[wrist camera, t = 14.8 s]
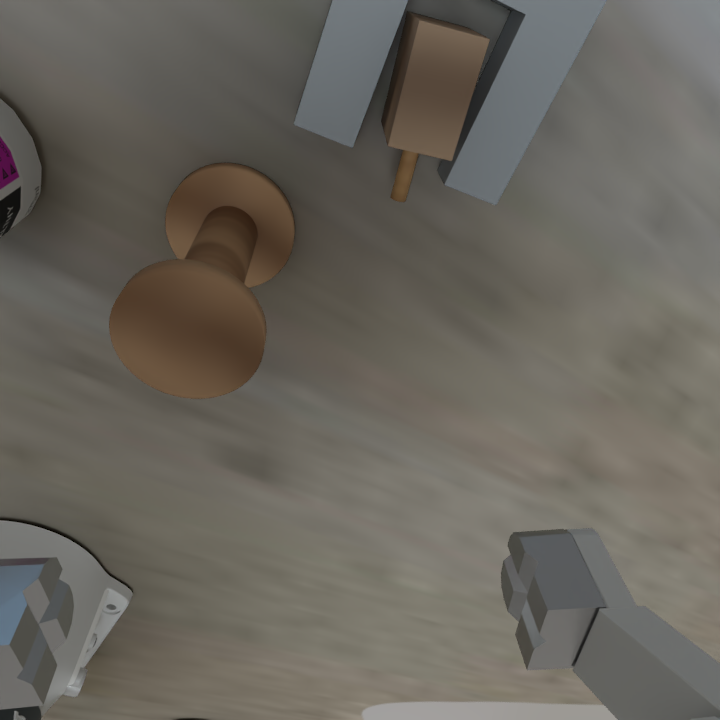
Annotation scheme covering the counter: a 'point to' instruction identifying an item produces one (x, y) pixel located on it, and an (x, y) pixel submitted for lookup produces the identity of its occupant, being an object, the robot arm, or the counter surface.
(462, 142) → the notch board
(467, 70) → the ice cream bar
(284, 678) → the counter surface
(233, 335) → the bobbin
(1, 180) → the supplement can
